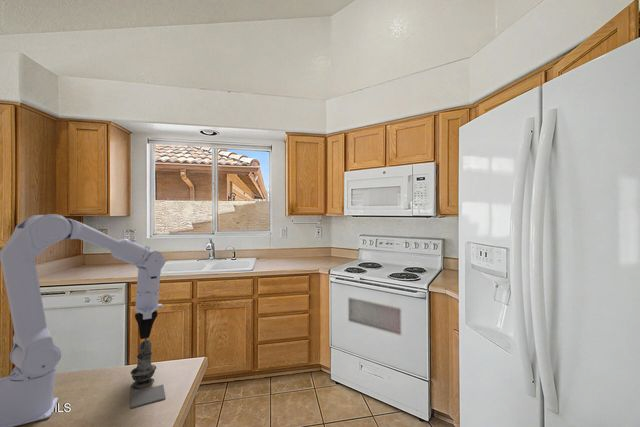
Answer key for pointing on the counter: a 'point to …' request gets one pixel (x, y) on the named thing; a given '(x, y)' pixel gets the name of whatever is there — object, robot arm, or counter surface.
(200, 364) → the counter surface
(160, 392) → the charcoal mat
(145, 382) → the dark grey chess piece
